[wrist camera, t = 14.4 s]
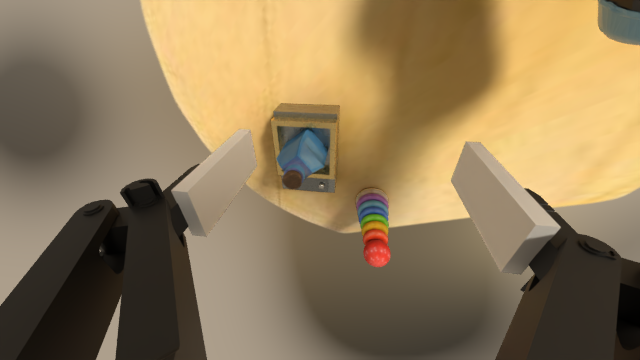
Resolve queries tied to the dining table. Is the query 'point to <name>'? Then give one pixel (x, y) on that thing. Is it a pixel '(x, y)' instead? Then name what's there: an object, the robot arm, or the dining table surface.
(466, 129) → the dining table surface
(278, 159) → the perfume bottle
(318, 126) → the gray gold-framed box
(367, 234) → the stacking toy
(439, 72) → the dining table surface
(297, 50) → the dining table surface
